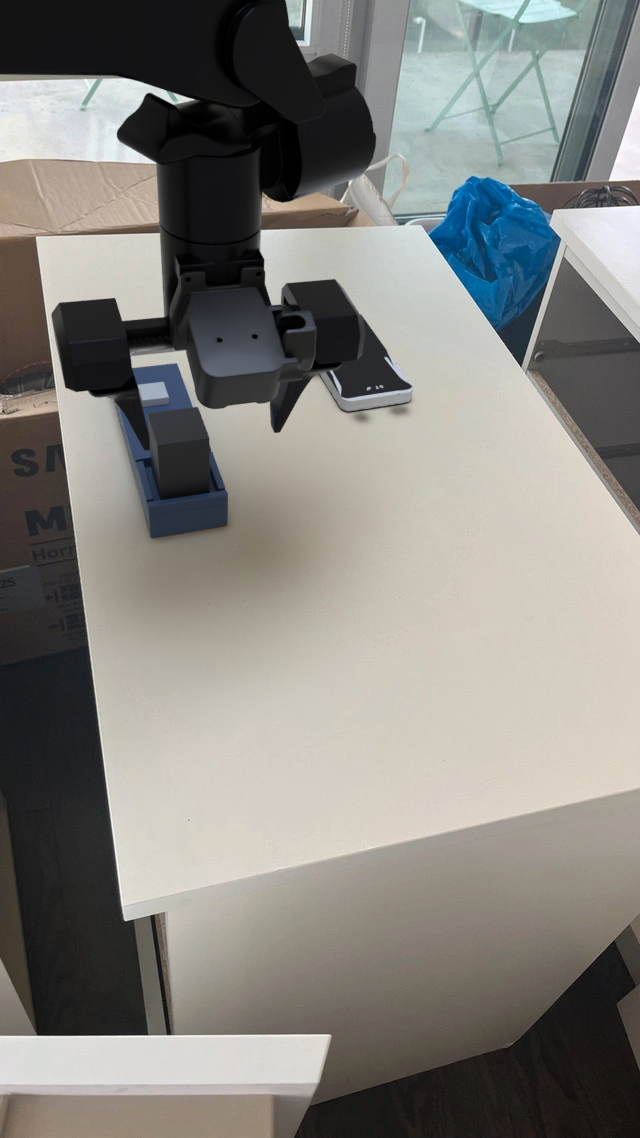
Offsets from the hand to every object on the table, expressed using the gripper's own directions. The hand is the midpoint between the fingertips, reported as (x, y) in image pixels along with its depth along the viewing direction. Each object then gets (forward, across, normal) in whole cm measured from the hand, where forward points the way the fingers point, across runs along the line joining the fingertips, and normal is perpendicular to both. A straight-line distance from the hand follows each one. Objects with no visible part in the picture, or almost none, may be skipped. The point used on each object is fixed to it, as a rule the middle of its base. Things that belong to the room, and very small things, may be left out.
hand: (212, 437), depth 59 cm
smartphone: (+12, +20, +23) cm, 33 cm away
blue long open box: (+12, -1, +13) cm, 18 cm away
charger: (+9, -1, +6) cm, 11 cm away
